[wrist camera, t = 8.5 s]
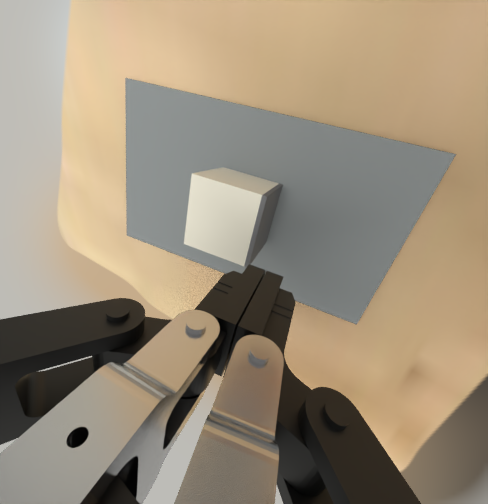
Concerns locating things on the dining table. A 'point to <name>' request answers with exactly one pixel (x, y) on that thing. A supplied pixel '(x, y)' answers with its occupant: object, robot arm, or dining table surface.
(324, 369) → the dining table surface
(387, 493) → the robot arm
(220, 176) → the cube
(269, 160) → the mat
